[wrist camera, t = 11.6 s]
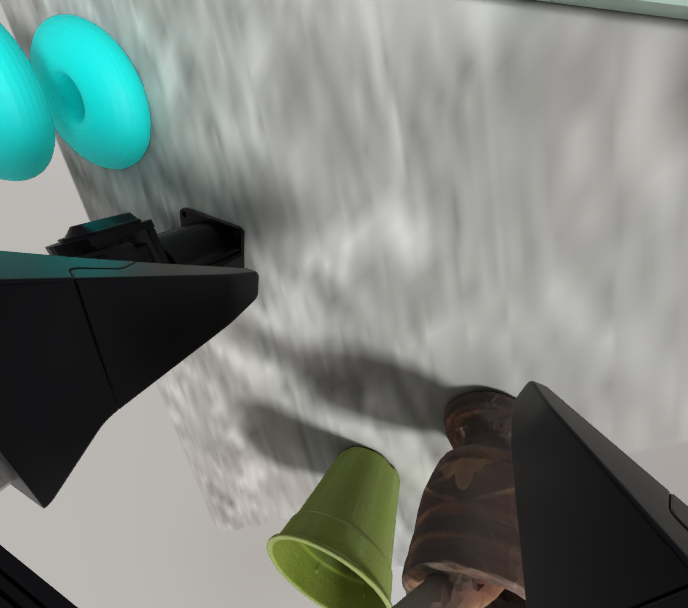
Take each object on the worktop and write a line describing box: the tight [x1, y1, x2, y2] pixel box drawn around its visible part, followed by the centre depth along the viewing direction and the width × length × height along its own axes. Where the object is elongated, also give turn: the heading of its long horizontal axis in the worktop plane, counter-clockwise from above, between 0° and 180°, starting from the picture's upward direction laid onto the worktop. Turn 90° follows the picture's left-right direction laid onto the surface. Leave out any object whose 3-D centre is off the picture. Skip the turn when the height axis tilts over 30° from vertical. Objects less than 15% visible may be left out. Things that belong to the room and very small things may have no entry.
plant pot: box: [267, 447, 400, 608], centre depth 31 cm, size 12×12×11 cm
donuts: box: [0, 14, 151, 181], centre depth 22 cm, size 10×10×10 cm
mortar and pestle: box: [391, 392, 526, 608], centre depth 18 cm, size 12×9×20 cm
